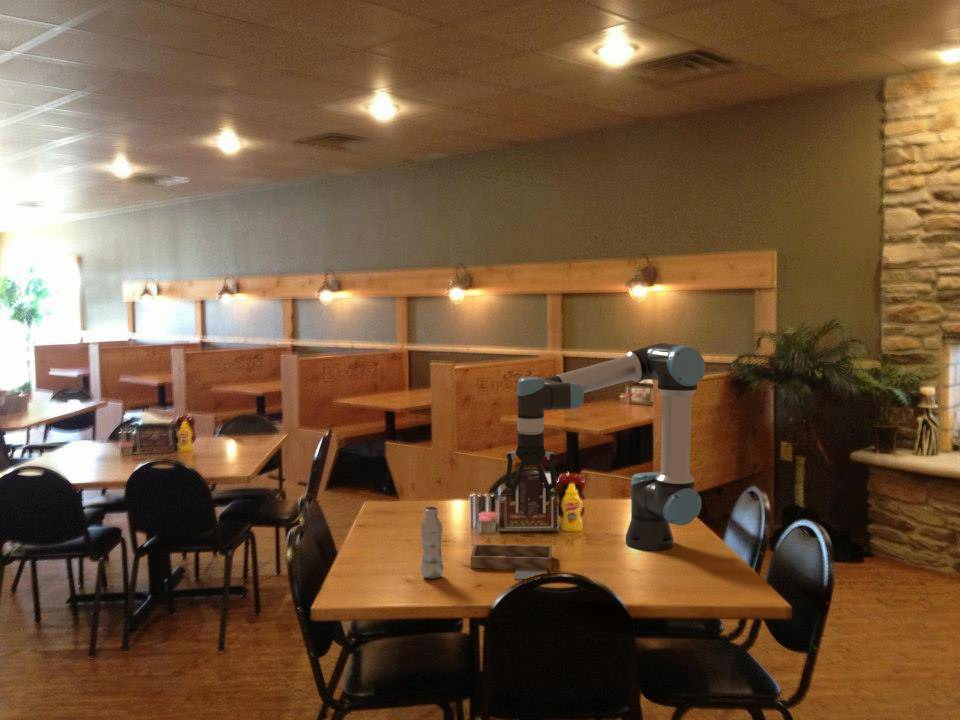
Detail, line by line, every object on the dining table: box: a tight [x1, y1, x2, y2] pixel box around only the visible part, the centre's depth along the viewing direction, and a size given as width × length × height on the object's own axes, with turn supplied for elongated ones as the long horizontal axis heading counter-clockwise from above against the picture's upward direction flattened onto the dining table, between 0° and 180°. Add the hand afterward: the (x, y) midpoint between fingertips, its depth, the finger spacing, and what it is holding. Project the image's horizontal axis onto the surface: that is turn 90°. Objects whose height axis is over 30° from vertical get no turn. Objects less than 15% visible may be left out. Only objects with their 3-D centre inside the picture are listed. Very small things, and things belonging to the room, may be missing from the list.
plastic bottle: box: [420, 506, 444, 580], centre depth 247 cm, size 6×7×20 cm
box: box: [518, 470, 544, 517], centre depth 247 cm, size 6×4×12 cm
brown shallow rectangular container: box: [470, 543, 553, 571], centre depth 260 cm, size 24×13×4 cm, turn 85°
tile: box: [514, 568, 548, 581], centre depth 249 cm, size 9×9×1 cm
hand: (530, 511), depth 248 cm, fingers closed on box, 7 cm apart
